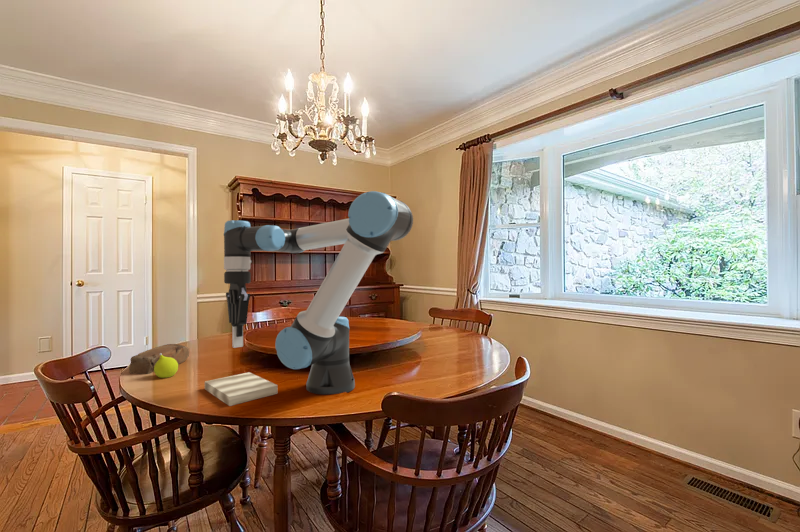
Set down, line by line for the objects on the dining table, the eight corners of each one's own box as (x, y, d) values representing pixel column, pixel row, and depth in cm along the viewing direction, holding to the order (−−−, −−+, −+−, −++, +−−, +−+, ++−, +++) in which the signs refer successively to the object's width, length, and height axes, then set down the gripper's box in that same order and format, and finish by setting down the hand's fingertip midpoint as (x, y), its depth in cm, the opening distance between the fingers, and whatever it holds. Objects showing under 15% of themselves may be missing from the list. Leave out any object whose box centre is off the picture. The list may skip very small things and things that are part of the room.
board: (277, 393, 110) (277, 385, 110) (229, 406, 100) (229, 396, 100) (249, 379, 124) (249, 372, 124) (204, 389, 114) (204, 381, 114)
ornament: (149, 381, 123) (149, 351, 123) (161, 375, 130) (161, 347, 130) (171, 380, 123) (171, 351, 123) (182, 374, 130) (182, 346, 130)
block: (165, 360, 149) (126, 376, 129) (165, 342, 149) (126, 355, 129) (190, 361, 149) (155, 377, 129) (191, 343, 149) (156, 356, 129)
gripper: (258, 270, 112) (258, 347, 112) (241, 270, 121) (241, 342, 121) (233, 270, 107) (233, 352, 106) (217, 270, 116) (217, 345, 115)
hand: (237, 346), depth 114 cm, fingers closed
